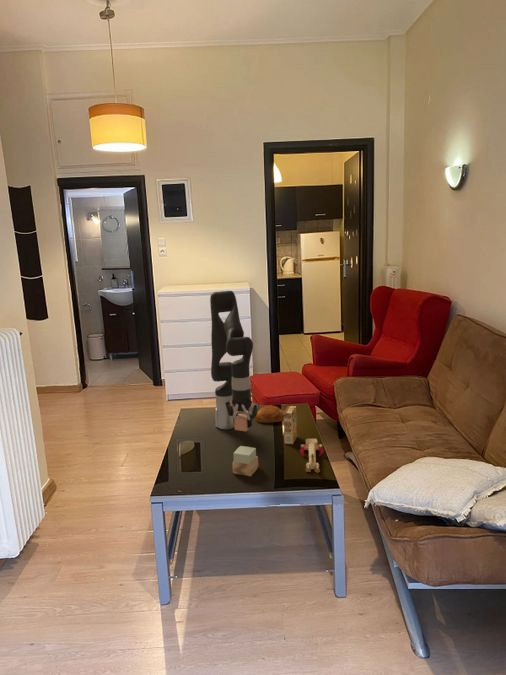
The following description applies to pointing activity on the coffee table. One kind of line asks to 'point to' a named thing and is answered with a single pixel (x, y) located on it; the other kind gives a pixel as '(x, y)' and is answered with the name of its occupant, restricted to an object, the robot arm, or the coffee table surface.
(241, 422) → the terracotta cube
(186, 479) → the coffee table surface
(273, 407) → the bread roll
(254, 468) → the oak block
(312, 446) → the beige elongated piece
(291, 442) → the candy box
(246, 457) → the sage block
